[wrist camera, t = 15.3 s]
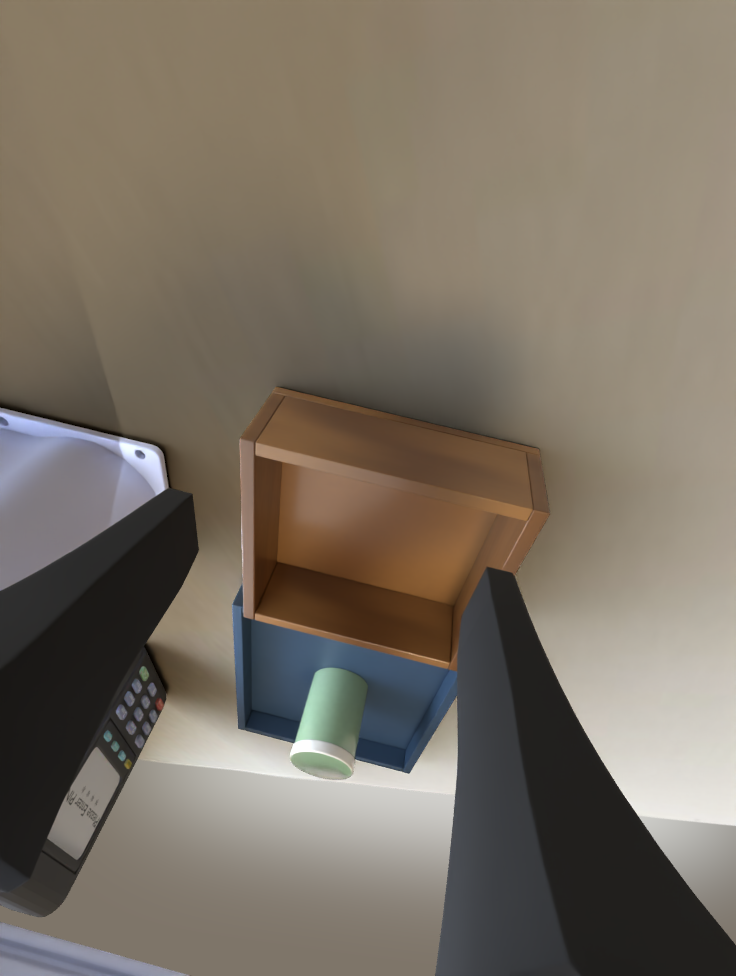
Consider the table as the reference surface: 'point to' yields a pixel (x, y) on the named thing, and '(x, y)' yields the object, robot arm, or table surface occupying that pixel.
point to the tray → (297, 656)
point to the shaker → (330, 724)
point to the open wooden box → (378, 523)
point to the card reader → (93, 790)
